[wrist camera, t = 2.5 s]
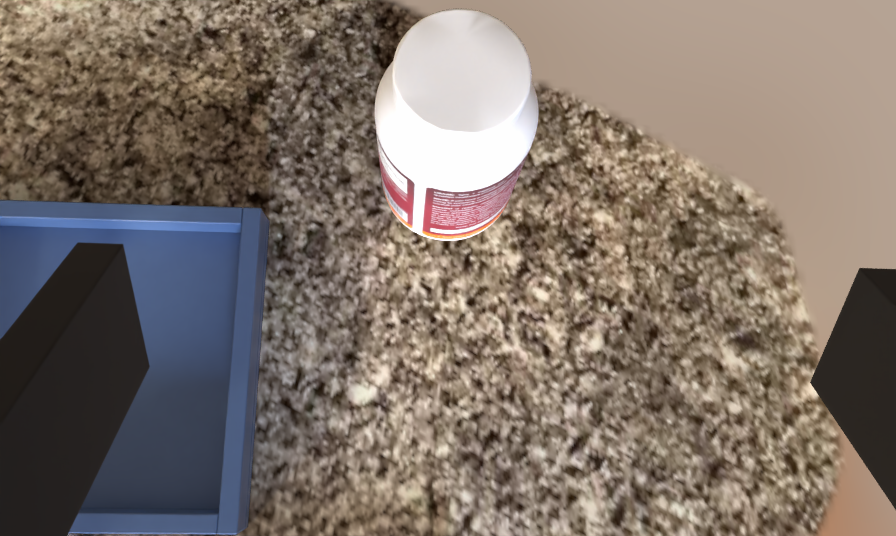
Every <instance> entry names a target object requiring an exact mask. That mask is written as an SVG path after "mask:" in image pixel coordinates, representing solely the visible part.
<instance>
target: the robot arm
mask: <svg viewBox="0 0 896 536" xmlns="http://www.w3.org/2000/svg"><path fill="white" fill-rule="evenodd" d="M149 367H150V365H149V361H148V356H147V352H146V347H145V342H144V338H143V333H142V328H141V324H140V319H139V315H138V310H137V305H136V301H135V296H134V291H133V287H132V282H131V278H130V273H129V268H128V264H127V259H126V254H125V250H124V245H123V244H113V243H82V242H77V244H76V245H75V246H74V247H73V249H72V250H71V251H70V253H69V254H68V255H67V256H66V258H65V259H64V260H63V261H62V263H61V264H60V265H59V266H58V268H57V269H56V270H55V271H54V273H53V274H52V275H51V276H50V278H49V279H48V280H47V282H46V283H45V284H44V285H43V287H42V288H41V289H40V290H39V292H38V293H37V294H36V295H35V297H34V298H33V299H32V300H31V302H30V303H29V304H28V305H27V307H26V308H25V309H24V310H23V312H22V313H21V314H20V316H19V317H18V318H17V319H16V321H15V322H14V323H13V324H12V326H11V327H10V328H9V329H8V331H7V332H6V333H5V334H4V336H3V337H2V338H1V339H0V536H67V535H68V533H69V531H70V529H71V527H72V525H73V523H74V521H75V519H76V517H77V515H78V513H79V511H80V509H81V507H82V504H83V502H84V500H85V498H86V496H87V494H88V492H89V490H90V488H91V486H92V484H93V482H94V480H95V478H96V476H97V474H98V472H99V470H100V468H101V466H102V464H103V461H104V459H105V457H106V455H107V453H108V451H109V449H110V447H111V445H112V443H113V441H114V439H115V437H116V435H117V433H118V431H119V429H120V427H121V425H122V423H123V421H124V418H125V416H126V414H127V412H128V410H129V408H130V406H131V404H132V402H133V400H134V398H135V396H136V394H137V392H138V390H139V388H140V386H141V384H142V382H143V380H144V378H145V375H146V373H147V371H148V369H149ZM810 383H811V384H812V386H813V387H814V389H815V390H816V392H817V393H818V395H819V396H820V398H821V399H822V401H823V402H824V404H825V405H826V407H827V408H828V410H829V411H830V413H831V414H832V416H833V417H834V419H835V420H836V422H837V423H838V425H839V426H840V428H841V429H842V431H843V432H844V434H845V435H846V436H847V438H848V439H849V441H850V442H851V444H852V445H853V447H854V448H855V450H856V451H857V453H858V454H859V456H860V457H861V459H862V460H863V462H864V463H865V465H866V466H867V468H868V469H869V471H870V472H871V474H872V475H873V477H874V478H875V480H876V481H877V483H878V484H879V486H880V487H881V489H882V490H883V492H884V493H885V494H886V496H887V497H888V499H889V500H890V502H891V503H892V505H893V506H894V508H895V509H896V269H872V268H860V269H859V271H858V273H857V275H856V278H855V280H854V282H853V284H852V287H851V289H850V291H849V294H848V296H847V298H846V301H845V303H844V306H843V308H842V310H841V312H840V315H839V317H838V319H837V322H836V324H835V326H834V328H833V331H832V333H831V336H830V338H829V340H828V342H827V345H826V347H825V349H824V352H823V354H822V356H821V359H820V361H819V363H818V366H817V368H816V370H815V372H814V375H813V377H812V379H811V382H810Z"/></svg>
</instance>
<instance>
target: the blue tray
mask: <svg viewBox="0 0 896 536" xmlns="http://www.w3.org/2000/svg"><path fill="white" fill-rule="evenodd" d="M268 235H269V220H268V218H267V217H266V215H265V214H264V212H263V211H262V209H261V208H249V207H244V208H242V207H216V206H184V205H152V204H120V203H88V202H56V201H24V200H0V339H1V338H2V337H3V336H4V334H5V333H6V332H7V331H8V329H9V328H10V327H11V326H12V324H13V323H14V322H15V321H16V319H17V318H18V317H19V316H20V314H21V313H22V312H23V310H24V309H25V308H26V307H27V305H28V304H29V303H30V302H31V300H32V299H33V298H34V297H35V295H36V294H37V293H38V292H39V290H40V289H41V288H42V287H43V285H44V284H45V283H46V282H47V280H48V279H49V278H50V276H51V275H52V274H53V273H54V271H55V270H56V269H57V268H58V266H59V265H60V264H61V263H62V261H63V260H64V259H65V258H66V256H67V255H68V254H69V253H70V251H71V250H72V249H73V247H74V246H75V245H76V244H77V242H82V243H113V244H123V245H124V250H125V254H126V259H127V264H128V268H129V273H130V278H131V282H132V287H133V291H134V296H135V301H136V305H137V310H138V315H139V319H140V324H141V328H142V333H143V338H144V342H145V347H146V352H147V356H148V361H149V365H150V367H149V369H148V371H147V373H146V375H145V378H144V380H143V382H142V384H141V386H140V388H139V390H138V392H137V394H136V396H135V398H134V400H133V402H132V404H131V406H130V408H129V410H128V412H127V414H126V416H125V418H124V421H123V423H122V425H121V427H120V429H119V431H118V433H117V435H116V437H115V439H114V441H113V443H112V445H111V447H110V449H109V451H108V453H107V455H106V457H105V459H104V461H103V464H102V466H101V468H100V470H99V472H98V474H97V476H96V478H95V480H94V482H93V484H92V486H91V488H90V490H89V492H88V494H87V496H86V498H85V500H84V502H83V504H82V507H81V509H80V511H79V513H78V515H77V517H76V519H75V521H74V523H73V525H72V527H71V529H70V531H69V533H84V534H217V533H218V534H228V535H236V534H238V533H239V532H241V531H242V530H244V529H245V528H247V527H248V519H249V505H250V491H251V477H252V462H253V448H254V434H255V420H256V406H257V391H258V377H259V363H260V349H261V335H262V321H263V306H264V292H265V278H266V264H267V250H268Z"/></svg>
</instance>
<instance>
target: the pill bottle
mask: <svg viewBox="0 0 896 536" xmlns="http://www.w3.org/2000/svg"><path fill="white" fill-rule="evenodd" d="M531 74H532V72H531V65H530V60H529V56H528V54H527V51H526V49H525V47H524V45H523V43H522V41H521V40H520V39H519V37H518V36H517V35H516V33H515V32H514V31H512V29H511V28H509V26H507V25H506V24H505V23H503V22H502V21H500V20H499V19H497V18H495V17H493V16H491V15H489V14H486V13H484V12H481V11H476V10H471V9H450V10H444V11H439V12H436V13H434V14H431V15H429V16H427V17H425V18H423V19H422V20H420V21H418V22H417V23H416V24H415V25H414V26H413V27H412V28H411V29H410V30H409V31H408V32H407V33H406V34H405V35H404V36H403V38H402V40H401V41H400V43H399V45H398V47H397V50H396V52H395V56H394V60H393V62H392V63H391V64H390V66H389V67H388V68H387V70H386V72H385V73H384V75H383V77H382V79H381V81H380V84H379V87H378V90H377V94H376V99H375V126H376V134H377V143H378V152H379V161H380V170H381V180H382V186H383V190H384V194H385V197H386V200H387V202H388V204H389V206H390V208H391V210H392V211H393V213H394V214H395V216H396V217H397V218H398V219H399V220H400V221H401V222H402V223H403V224H404V225H405V226H406V227H408V228H409V229H411V230H412V231H414V232H416V233H418V234H419V235H422V236H424V237H427V238H431V239H435V240H444V241H453V240H461V239H465V238H469V237H472V236H474V235H476V234H478V233H480V232H482V231H484V230H485V229H487V228H488V227H489V226H490V225H492V224H493V223H494V222H495V221H496V220H497V218H498V217H499V216H500V215H501V213H502V212H503V210H504V208H505V207H506V205H507V203H508V201H509V199H510V196H511V194H512V191H513V189H514V186H515V184H516V181H517V179H518V177H519V174H520V172H521V170H522V167H523V165H524V162H525V160H526V157H527V155H528V153H529V150H530V148H531V145H532V143H533V140H534V136H535V133H536V129H537V124H538V116H539V114H538V101H537V95H536V92H535V88H534V86H533V83H532V81H531Z"/></svg>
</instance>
